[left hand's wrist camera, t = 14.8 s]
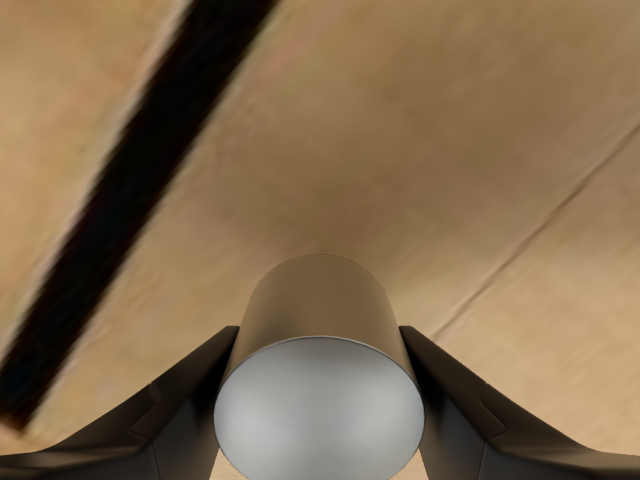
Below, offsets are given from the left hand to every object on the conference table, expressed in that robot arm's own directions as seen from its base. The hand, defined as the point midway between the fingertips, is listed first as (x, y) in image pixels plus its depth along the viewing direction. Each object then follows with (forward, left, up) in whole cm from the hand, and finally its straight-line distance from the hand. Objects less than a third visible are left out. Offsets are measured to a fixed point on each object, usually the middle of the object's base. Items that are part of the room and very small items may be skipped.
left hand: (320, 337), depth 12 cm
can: (0, 0, -1) cm, 1 cm away
